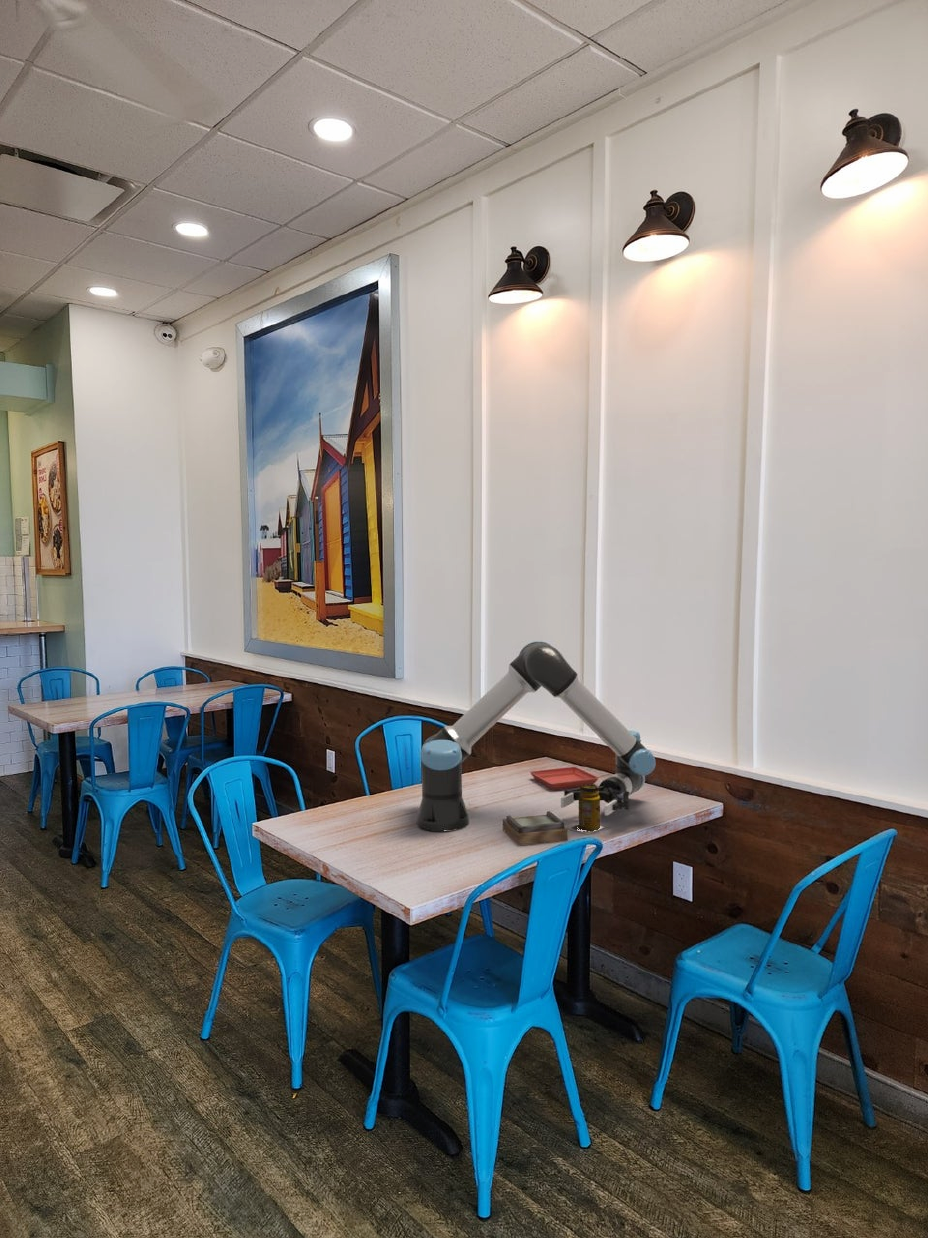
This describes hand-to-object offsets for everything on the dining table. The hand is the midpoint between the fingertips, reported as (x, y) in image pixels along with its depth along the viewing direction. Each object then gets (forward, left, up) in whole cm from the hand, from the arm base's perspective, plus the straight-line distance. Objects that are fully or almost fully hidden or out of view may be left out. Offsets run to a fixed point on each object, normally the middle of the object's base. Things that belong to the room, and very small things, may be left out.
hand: (583, 806), depth 225 cm
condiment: (+2, +2, -7) cm, 7 cm away
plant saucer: (+14, +49, -8) cm, 51 cm away
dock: (-14, +1, -7) cm, 16 cm away
